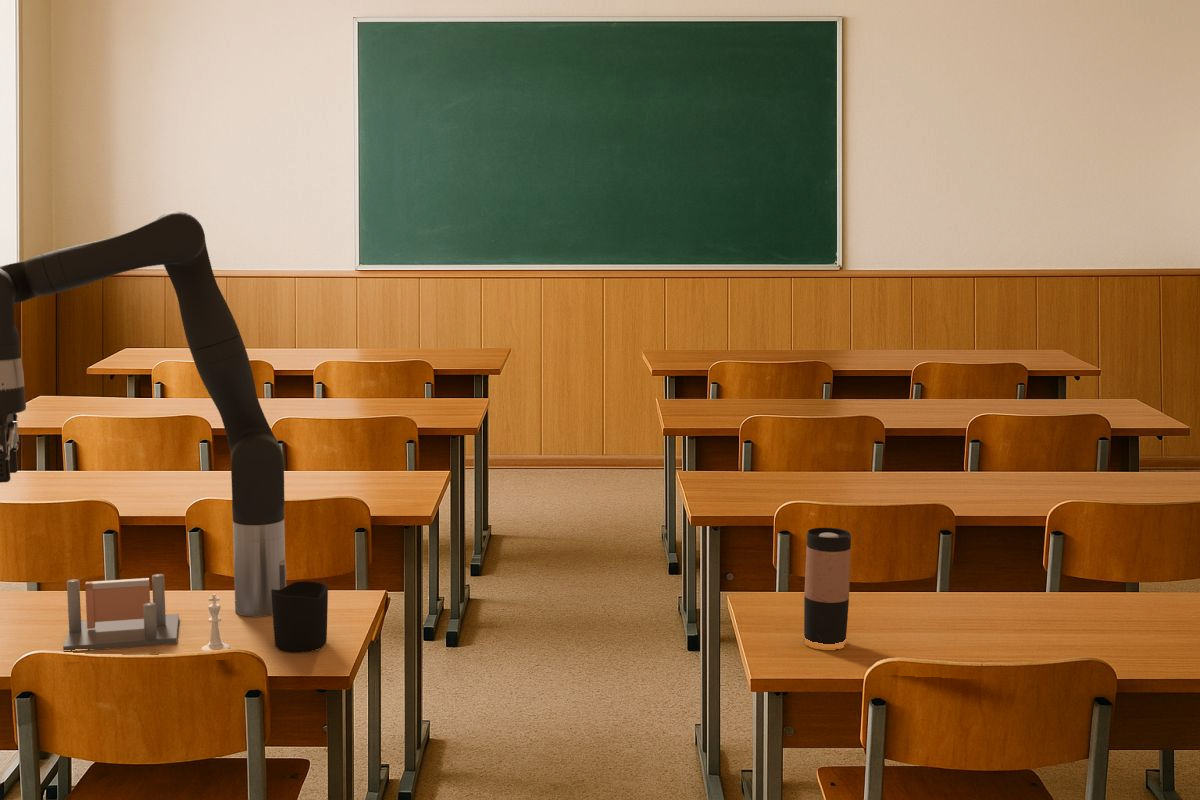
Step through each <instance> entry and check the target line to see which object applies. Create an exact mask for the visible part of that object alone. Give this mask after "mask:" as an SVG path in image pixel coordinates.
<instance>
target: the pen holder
mask: <svg viewBox="0 0 1200 800" xmlns="http://www.w3.org/2000/svg"><path fill="white" fill-rule="evenodd" d="M271 595H272V611H273V615H272V623H273V624H272V625H273V637H274V638H273V639H274V646H275V647H276V648H277V650H278V651H281V652H284V653H291V654H299V653H300V654H301V653H309V652H314V651H317V650H320V649H322V648H323V647H325V645H326V644H327V639H328V637H327V636H328V611H329V610H328V607H329V606H328V603H329V602H328V601H329V599H328V598H329V588H328V585H326V584H325V583H322V582H319V581H313V580H311V581H309V580H301V581H295V582H292V583H289V584H287V585H286V587H284V588H283V589H280V590H275V589H272V590H271Z"/></svg>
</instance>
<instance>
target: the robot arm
mask: <svg viewBox="0 0 1200 800" xmlns="http://www.w3.org/2000/svg"><path fill="white" fill-rule="evenodd" d="M207 247H208V246H207V242H206V234H205V231H204V228H203V226H202V224H201V223H200V221H199V220H198V219H197V218H196V217H194V216H193V215H192V214H190V213H187V212H183V211H170V212H166V213H164V214H162V215H160V216H159V217H158V218H157V219H156V220H153V221H151V222H149V223H147V224H144V225H143V226H140V227H139V228H136V229H133V230H130V231H128V232H125V233H122V234H119V235H115V236H113V237H108V238H104V239H100V240H96V241H91V242H86V243H80V244H76V245H72V246H68V247H64V248H59V249H55V250H51V251H49V252H45V253H43V254H38V255H35V256H32V257H31V258H28V259H26V260H23V261H18V262H14V263H8V264H4V265H1V266H0V450H1V451H0V484H1V483H2V484H3V483H9V482H10V481H11V474H16V473H17V472H18V470H19V466H18V454H17V453H18V449H19V446H20V442H21V441H20V440H19V437H20V436H19V427H18V426H19V425H18V414H19V413H22V412H24V411H25V410H26V409H27V403H26V401H27V400H26V390H25V389H26V388H25V386H26V385H25V376H24V375H25V374H24V367H23V364H22V363H23V362H22V358H21V357H22V356H21V355H22V354H21V343H20V342H21V339H20V334H19V331H18V328H17V326H16V325H15V310H14V309H15V308H14V305H17V304H19V303H23V302H26V301H28V300H33V299H36V298H38V297H45V296H51V295H55V294H59V293H62V292H65V291H66V292H67V291H69V290H74V289H76V288H77V289H78V288H80V287H83V286H86V285H89V284H92V283H95V282H97V281H100V280H103V279H106V278H108V277H109V278H110V277H112V276H115V275H119V274H121V273H125V272H128V271H133V270H137V269H138V270H139V269H142V268H148V267H154V266H161V265H162V266H164V269H165V271H166V273H167V276H168V277H169V279H170V282H171V283H172V286H173V289H174V291H175V294H176V298H177V302H178V307H179V312H180V317H181V322H182V327H183V330H184V335H185V338H186V342H187V345H188V348H189V350H190V353H191V356H192V359H193V361H194V364H195V365H194V366H195V368H196V370H197V373H198V374H199V377H200V379H201V381H202V384H203V386H205V387H204V388H205V389H206V392H207V393H208V395H209V397H210V398H211V400H212V401H213V403H214V405H215V407H216V409H217V411H218V414H219V416H220V417H221V421H222V424H223V427H224V431H225V435H226V438H227V442H228V448H229V452H230V470H231V471H230V473H231V509H232V511H231V513H232V536H233V538H232V539H233V570H234V571H233V575H234V577H233V579H234V582H233V583H234V608H235V609H234V610H235V613H236V614H238V615H241V616H245V617H267V616H273V611H272V595H271V590H272V589H275V590H280V589H283V588H284V587H286V586H287V562H286V545H285V544H286V539H285V503H286V501H285V500H286V499H285V461H284V454H283V450H282V447H281V445H280V443H279V441H278V440H277V439H276V437H275V435H274V434H275V433H274V432H273V430H272V428H271V427H270V424H269V423H268V420H267V418H266V415H265V414H264V412H263V410H262V407H261V404H260V401H259V398H258V394H257V389H256V382H255V379H254V373H253V371H252V367H251V366H252V365H251V363H250V358H249V355H248V352H247V349H246V347H245V343H244V339H243V338H242V335H241V332H240V330H239V328H238V324H237V323H236V320H235V318H234V316H233V313H232V312H231V309H230V308H229V306H228V302H227V301H226V300H225V297H224V295H223V293H222V292H221V290H220V287H219V285H218V283H217V281H216V278H215V274H214V271H213V268H212V263H211V261H210V257H209V252H208V248H207Z"/></svg>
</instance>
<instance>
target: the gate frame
mask: <svg viewBox="0 0 1200 800" xmlns="http://www.w3.org/2000/svg"><path fill="white" fill-rule="evenodd" d="M151 583H152V584H151V586H152V587H151V588H152V602H150V603H146V604H144V605H143V608H144V619H132V620H118V621H104V622H95V628H92V629H87V619H84V620H82V613H81V612H82V608H81V590H80V587H81V586H80V579H73V578H72V579H69V580H66V592H67V597H66V598H67V613H68V614H67V615H68V633H67V635H66V638H65V641H64V643H63V647H62V649H63V650H71V651H72V650H75V649H88V650H87V651H91V650H90V649H100V650H108V649H107V648H111V649H112V648H113V649H125V648H136V647H137V648H138V647H139V648H140V647H148V646H149V647H150V646H151V647H152V646H163V645H176V644H177V641H178V640H177V639H178V631H179V621H180V614H179V613H171V614H168V613H167V614H166V593H165V592H166V591H165V574H162V573H157V574H152V575H151ZM111 649H110V650H111ZM63 650H62V651H63Z"/></svg>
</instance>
